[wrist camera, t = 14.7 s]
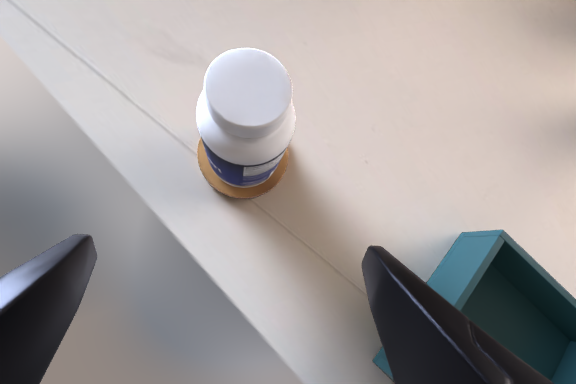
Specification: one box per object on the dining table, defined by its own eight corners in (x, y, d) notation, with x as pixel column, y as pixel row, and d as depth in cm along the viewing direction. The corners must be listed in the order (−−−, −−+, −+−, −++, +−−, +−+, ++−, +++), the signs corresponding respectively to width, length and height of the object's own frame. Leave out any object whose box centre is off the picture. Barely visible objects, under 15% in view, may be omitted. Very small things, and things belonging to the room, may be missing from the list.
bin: (499, 483, 21) (558, 535, 17) (371, 360, 21) (402, 385, 17) (571, 337, 25) (633, 354, 21) (461, 232, 25) (503, 229, 21)
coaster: (244, 217, 22) (244, 216, 21) (178, 154, 22) (177, 151, 21) (304, 156, 23) (306, 154, 23) (243, 98, 24) (243, 94, 23)
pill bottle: (195, 138, 22) (164, 53, 12) (258, 112, 23) (274, 18, 13) (227, 201, 21) (220, 163, 12) (290, 171, 22) (329, 115, 13)
